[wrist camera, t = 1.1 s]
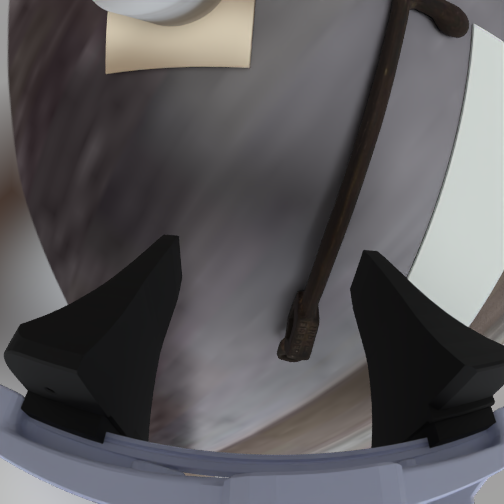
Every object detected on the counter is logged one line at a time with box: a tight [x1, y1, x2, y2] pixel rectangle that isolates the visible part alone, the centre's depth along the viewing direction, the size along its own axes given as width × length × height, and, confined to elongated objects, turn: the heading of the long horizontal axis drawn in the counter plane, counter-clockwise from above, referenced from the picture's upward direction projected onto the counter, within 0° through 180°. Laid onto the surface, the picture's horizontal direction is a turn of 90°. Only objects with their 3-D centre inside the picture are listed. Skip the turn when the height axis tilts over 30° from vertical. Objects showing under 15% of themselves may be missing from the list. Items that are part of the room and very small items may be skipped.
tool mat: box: [407, 24, 504, 327], centre depth 19 cm, size 28×12×1 cm, turn 176°
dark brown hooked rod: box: [277, 0, 469, 362], centre depth 18 cm, size 5×5×30 cm
